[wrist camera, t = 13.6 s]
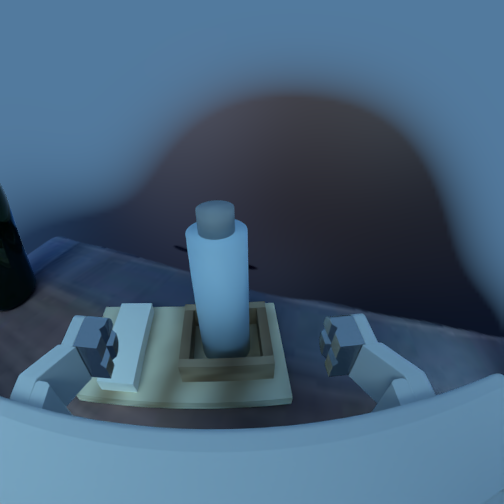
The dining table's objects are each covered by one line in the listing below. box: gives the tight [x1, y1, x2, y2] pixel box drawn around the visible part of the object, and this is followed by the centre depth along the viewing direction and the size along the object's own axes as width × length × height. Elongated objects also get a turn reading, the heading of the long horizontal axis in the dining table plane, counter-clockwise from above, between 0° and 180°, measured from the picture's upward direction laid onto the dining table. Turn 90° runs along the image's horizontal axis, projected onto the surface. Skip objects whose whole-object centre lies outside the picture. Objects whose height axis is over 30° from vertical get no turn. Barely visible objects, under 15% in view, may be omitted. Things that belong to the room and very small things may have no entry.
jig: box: [76, 301, 293, 409], centre depth 31 cm, size 22×14×4 cm, turn 94°
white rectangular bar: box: [97, 303, 154, 392], centre depth 31 cm, size 4×12×2 cm, turn 4°
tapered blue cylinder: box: [186, 200, 250, 359], centre depth 28 cm, size 5×5×16 cm
